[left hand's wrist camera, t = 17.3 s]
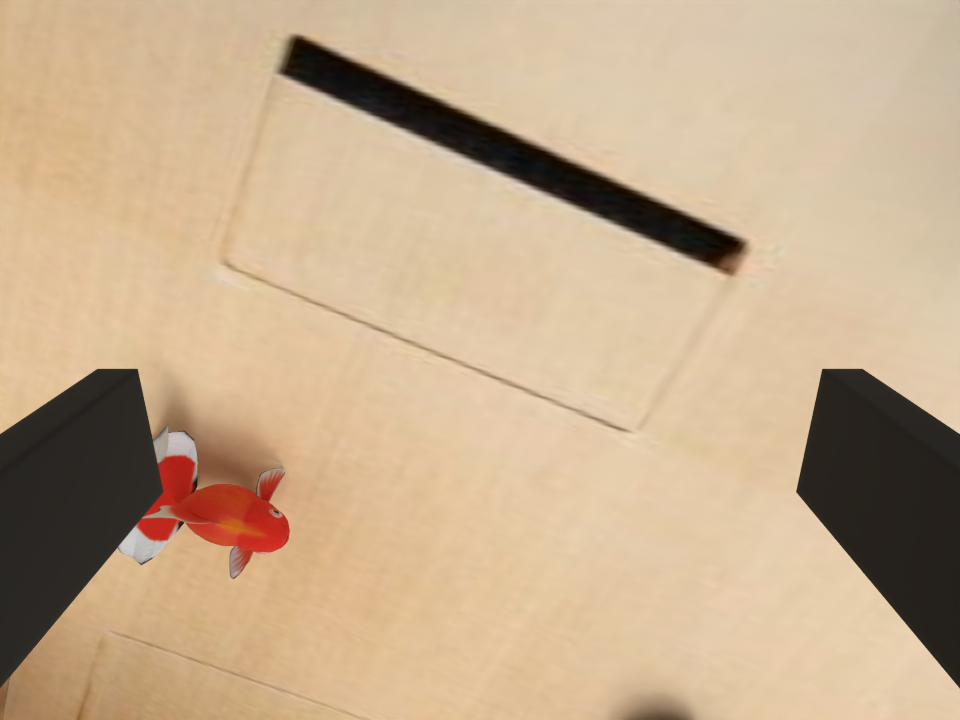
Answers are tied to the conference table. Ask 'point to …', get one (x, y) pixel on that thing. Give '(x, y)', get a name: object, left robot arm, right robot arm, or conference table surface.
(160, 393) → the conference table surface
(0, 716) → the box
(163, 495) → the fish
